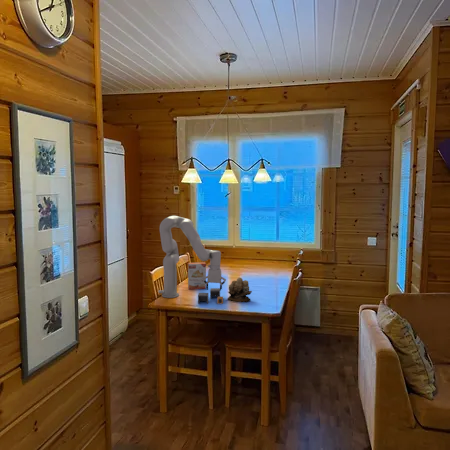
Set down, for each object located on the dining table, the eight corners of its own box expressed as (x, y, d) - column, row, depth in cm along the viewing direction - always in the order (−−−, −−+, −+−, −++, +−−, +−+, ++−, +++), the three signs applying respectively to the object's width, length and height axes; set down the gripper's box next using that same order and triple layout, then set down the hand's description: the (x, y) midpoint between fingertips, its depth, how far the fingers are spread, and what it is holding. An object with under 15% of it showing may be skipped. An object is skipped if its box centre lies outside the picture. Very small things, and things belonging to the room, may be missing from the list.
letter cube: (217, 303, 290) (217, 298, 289) (217, 302, 294) (217, 296, 293) (222, 303, 290) (222, 298, 289) (222, 302, 294) (222, 296, 293)
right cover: (210, 298, 302) (210, 290, 301) (210, 296, 309) (210, 288, 308) (219, 298, 302) (219, 290, 301) (220, 296, 308) (220, 288, 308)
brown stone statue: (253, 299, 302) (253, 276, 300) (250, 303, 291) (250, 280, 289) (229, 296, 307) (229, 274, 305) (225, 301, 296) (225, 278, 294)
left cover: (197, 303, 289) (197, 295, 288) (198, 300, 296) (198, 292, 295) (207, 303, 289) (207, 295, 288) (208, 301, 296) (208, 292, 295)
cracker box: (188, 289, 327) (188, 263, 325) (187, 287, 333) (187, 262, 331) (206, 289, 330) (206, 263, 328) (205, 287, 336) (205, 261, 334)
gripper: (203, 267, 299) (201, 290, 301) (226, 268, 299) (225, 291, 301) (203, 265, 307) (202, 287, 309) (226, 266, 306) (225, 289, 308)
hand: (213, 289), depth 305 cm, fingers open, 9 cm apart
